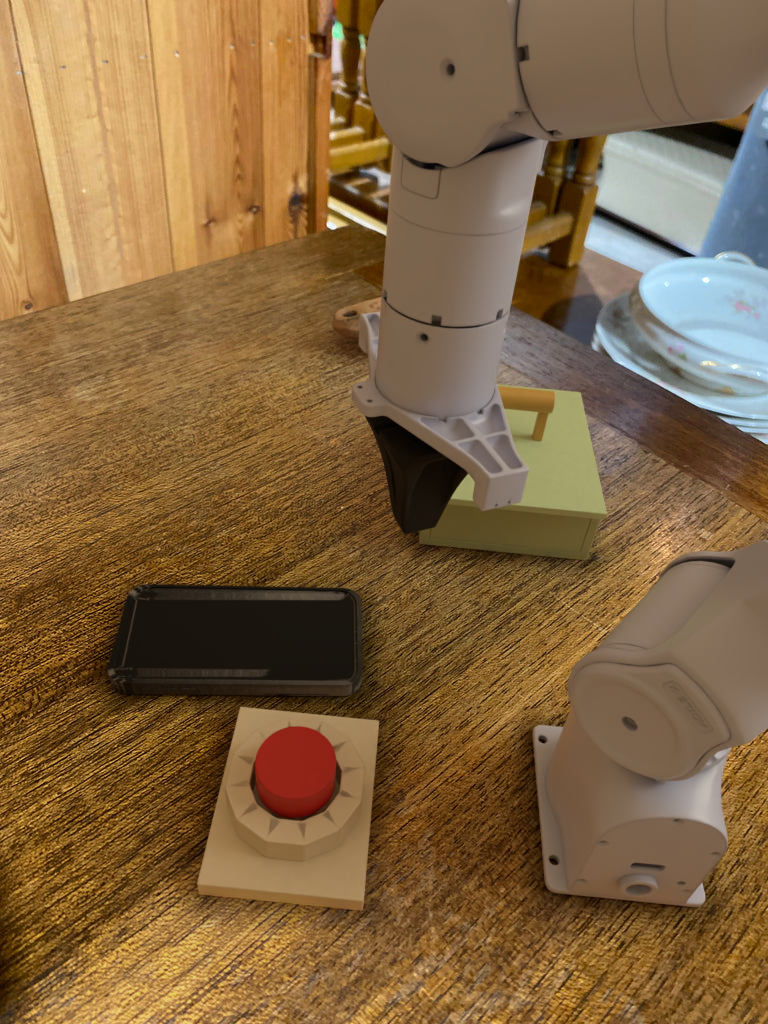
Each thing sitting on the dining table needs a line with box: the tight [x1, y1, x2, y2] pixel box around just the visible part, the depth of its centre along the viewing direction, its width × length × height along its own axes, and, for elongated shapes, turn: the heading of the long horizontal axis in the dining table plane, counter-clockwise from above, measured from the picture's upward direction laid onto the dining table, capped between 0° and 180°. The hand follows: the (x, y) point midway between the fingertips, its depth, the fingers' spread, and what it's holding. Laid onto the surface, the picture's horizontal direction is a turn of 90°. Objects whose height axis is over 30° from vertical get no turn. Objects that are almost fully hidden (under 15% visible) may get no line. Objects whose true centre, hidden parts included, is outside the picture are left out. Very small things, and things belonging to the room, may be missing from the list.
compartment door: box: [448, 383, 608, 521], centre depth 58 cm, size 15×12×5 cm
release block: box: [196, 706, 380, 912], centre depth 41 cm, size 10×8×3 cm
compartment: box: [418, 504, 601, 561], centre depth 61 cm, size 14×12×5 cm
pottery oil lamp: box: [330, 295, 382, 342], centre depth 77 cm, size 9×12×7 cm
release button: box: [255, 726, 336, 818], centre depth 39 cm, size 4×4×2 cm
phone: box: [107, 583, 364, 697], centre depth 49 cm, size 8×1×15 cm
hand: (415, 522), depth 43 cm, fingers closed
